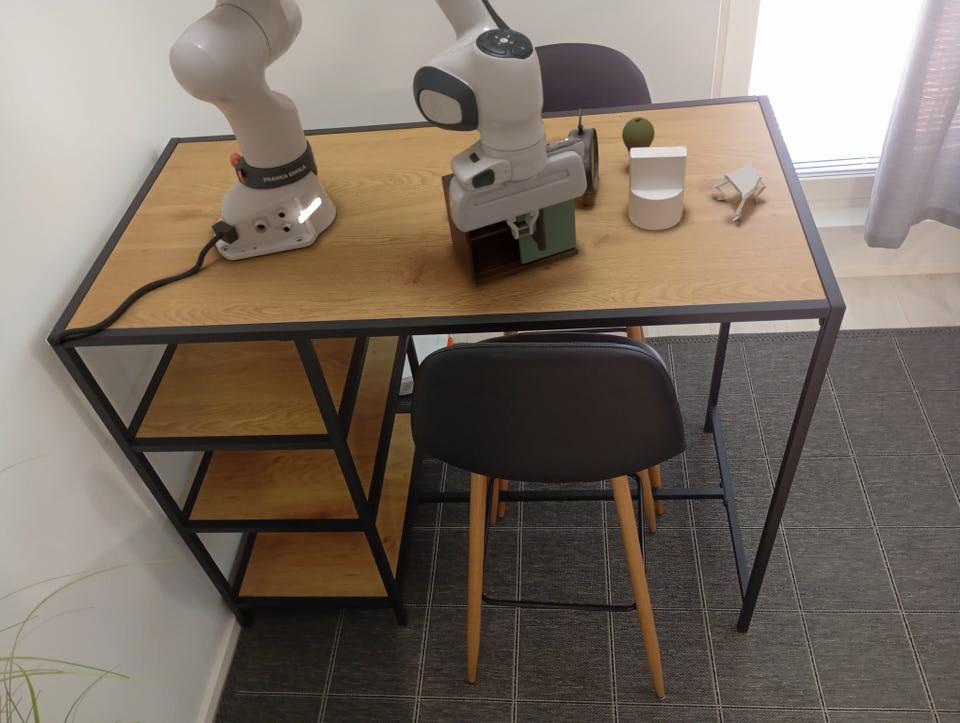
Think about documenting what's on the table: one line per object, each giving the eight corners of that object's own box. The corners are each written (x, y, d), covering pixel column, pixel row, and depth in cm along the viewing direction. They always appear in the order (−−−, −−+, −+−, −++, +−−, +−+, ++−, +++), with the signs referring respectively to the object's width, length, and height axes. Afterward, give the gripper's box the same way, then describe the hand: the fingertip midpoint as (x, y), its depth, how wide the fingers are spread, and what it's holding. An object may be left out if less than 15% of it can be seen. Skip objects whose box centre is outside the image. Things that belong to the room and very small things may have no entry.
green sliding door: (532, 279, 125) (527, 213, 116) (520, 261, 128) (514, 196, 119) (587, 261, 126) (586, 195, 118) (574, 244, 130) (571, 179, 121)
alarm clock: (594, 210, 138) (593, 126, 126) (563, 210, 139) (559, 126, 127) (600, 176, 145) (599, 93, 134) (570, 175, 146) (567, 93, 135)
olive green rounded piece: (645, 180, 143) (647, 129, 135) (616, 173, 145) (617, 124, 138) (657, 164, 146) (660, 114, 139) (629, 158, 148) (630, 109, 141)
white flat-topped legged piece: (708, 187, 139) (711, 162, 135) (758, 184, 138) (762, 159, 134) (718, 227, 130) (721, 202, 127) (770, 225, 129) (775, 199, 126)
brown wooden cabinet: (476, 287, 127) (464, 210, 116) (453, 247, 135) (440, 172, 124) (578, 254, 130) (576, 176, 119) (550, 217, 138) (545, 141, 127)
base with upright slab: (628, 230, 133) (629, 168, 124) (628, 199, 139) (629, 138, 130) (683, 229, 131) (688, 166, 123) (681, 198, 137) (686, 136, 129)
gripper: (574, 123, 113) (577, 204, 123) (439, 162, 110) (453, 243, 119) (593, 142, 109) (594, 225, 118) (453, 184, 105) (466, 266, 115)
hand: (522, 234), depth 119 cm, fingers closed
